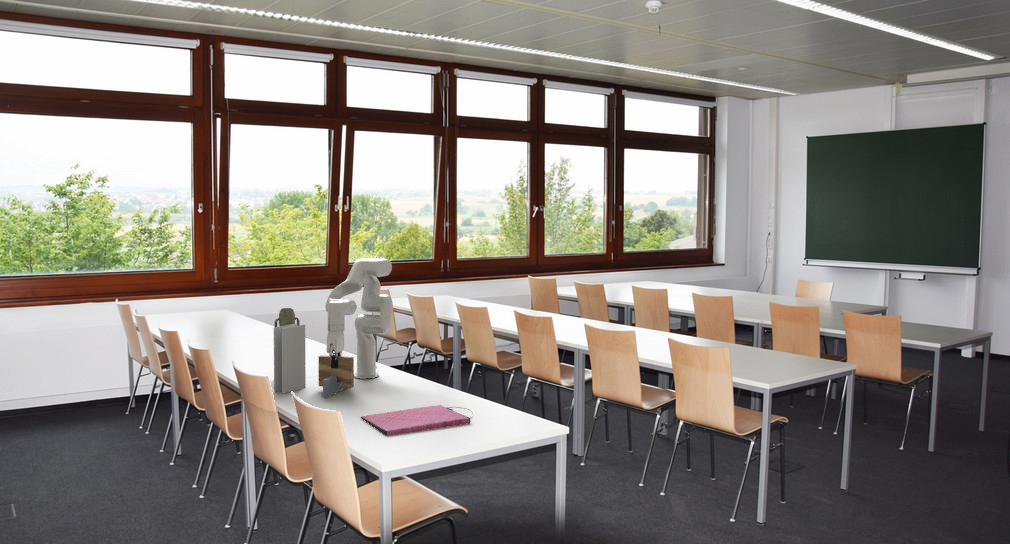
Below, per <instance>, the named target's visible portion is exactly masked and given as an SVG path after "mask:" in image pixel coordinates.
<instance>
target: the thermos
mask: <svg viewBox="0 0 1010 544" xmlns="http://www.w3.org/2000/svg"><path fill="white" fill-rule="evenodd" d="M292 324H297V326H300V319H299V318H298V317H296V314H295V310H294V309H293V308H291V307H283V308H281V309H280V310H279V314H278V318H276V319H275V320H274V327H278V325H279V326H285V325H292Z"/></svg>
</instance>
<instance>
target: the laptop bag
mask: <svg viewBox="0 0 1010 544" xmlns="http://www.w3.org/2000/svg"><path fill="white" fill-rule="evenodd" d="M453 408H454V406H450V407H445V406H444V405H441V404H439V405H431V406H430V405H429V406H422V407H416V408H410V409H409V408H408V409H401V410H395V411H388V412H382V413H381V412H379V413H375V414H369V415H364V416H363V415H362V416H360V419H361V418H362V419H363V420H362V419H361V420H362V421H364V420H365V421H366V422H365V421H364V422H365V423H367V422H368V423H369V424H368V423H367V424H368V425H370V426H371V425H372V426H371V427H373V428H374V427H375V428H376V429H375V428H374V429H375V430H377V429H378V430H379V432H380V433H381V432H382V433H381V434H383V435H384V434H385V435H384V436H386V437H388V436H389V435H390V436H395V435H401V434H403V435H404V434H409V433H415V431H417V432H422V430H423V431H428V430H427V429H430V430H435V429H434V428H436V429H442V428H441V427H443V428H448V427H447V426H450V427H454V425H456V426H461V425H460V424H462V425H466V423H468V424H470V423H471V419H473V417H474V416H472V417H469V416H467V415H464V414H462V413H459V412H457V411H454V409H453ZM455 408H459V409H461V407H460V406H455ZM463 409H464V410H465V409H466V410H469V411H470V412H471V413H472V415H474V413H473V411H472V410H471V409H470V408H466V407H463ZM378 430H377V431H378Z"/></svg>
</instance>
